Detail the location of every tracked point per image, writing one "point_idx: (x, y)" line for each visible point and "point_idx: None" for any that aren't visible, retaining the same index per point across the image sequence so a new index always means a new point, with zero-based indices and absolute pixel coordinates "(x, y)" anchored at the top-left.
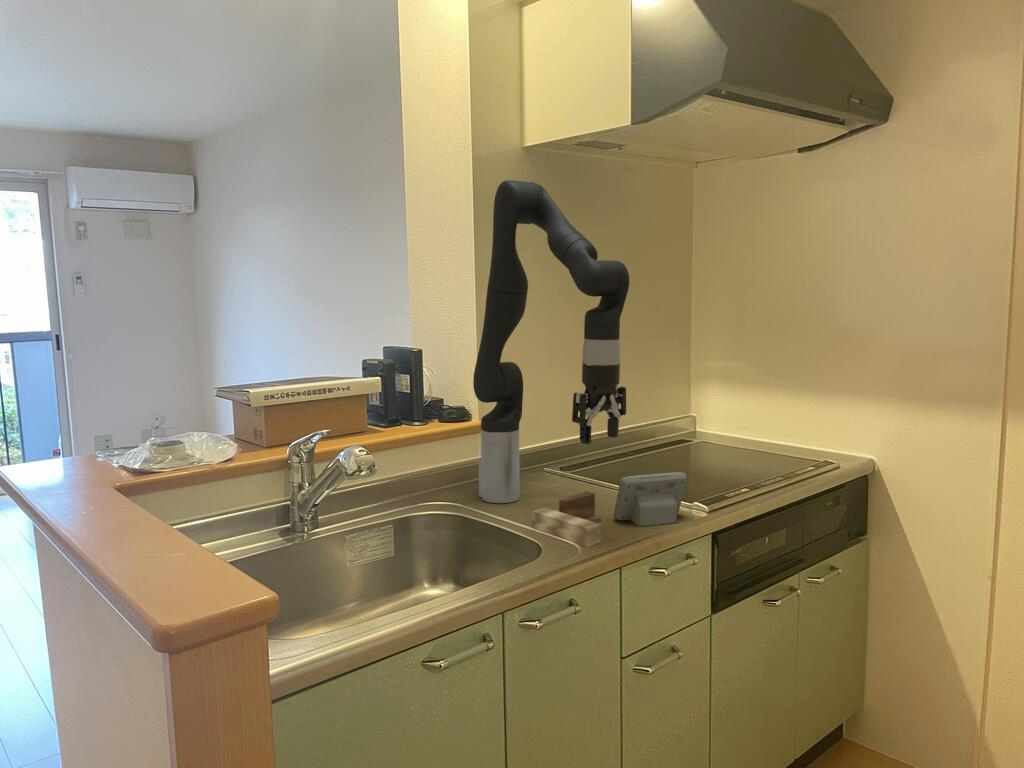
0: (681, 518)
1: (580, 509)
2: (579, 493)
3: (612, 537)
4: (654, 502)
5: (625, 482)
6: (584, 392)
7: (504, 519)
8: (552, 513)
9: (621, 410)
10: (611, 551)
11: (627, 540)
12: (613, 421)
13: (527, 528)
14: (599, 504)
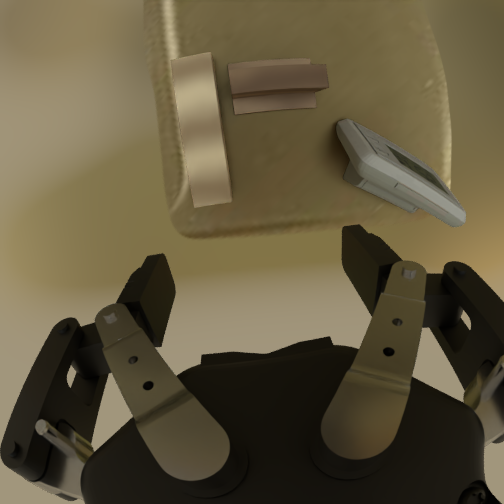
0: None
1: (275, 92)
2: (300, 65)
3: (264, 187)
4: (387, 194)
5: (361, 172)
6: (82, 497)
7: (168, 9)
8: (195, 92)
9: (437, 331)
10: (216, 235)
11: (274, 213)
12: (370, 297)
13: (169, 65)
14: (375, 49)
